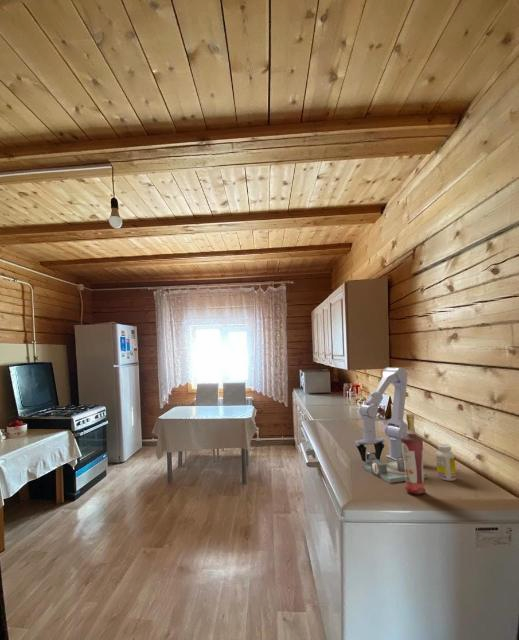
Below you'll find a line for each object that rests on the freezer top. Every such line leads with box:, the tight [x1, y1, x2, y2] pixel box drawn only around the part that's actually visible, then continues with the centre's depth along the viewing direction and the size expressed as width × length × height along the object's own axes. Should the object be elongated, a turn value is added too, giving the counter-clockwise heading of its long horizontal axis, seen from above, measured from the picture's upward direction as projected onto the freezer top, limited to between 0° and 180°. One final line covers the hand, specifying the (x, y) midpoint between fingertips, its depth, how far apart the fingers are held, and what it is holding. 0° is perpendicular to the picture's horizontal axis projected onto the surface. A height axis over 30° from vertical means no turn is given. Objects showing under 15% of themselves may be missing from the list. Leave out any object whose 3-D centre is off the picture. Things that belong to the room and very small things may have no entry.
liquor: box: [401, 413, 427, 496], centre depth 125 cm, size 7×7×28 cm
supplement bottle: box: [435, 443, 457, 482], centre depth 137 cm, size 7×7×13 cm
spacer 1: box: [365, 450, 377, 465], centre depth 157 cm, size 4×4×5 cm
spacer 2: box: [397, 456, 405, 472], centre depth 141 cm, size 4×4×5 cm
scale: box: [363, 459, 428, 484], centre depth 144 cm, size 18×18×5 cm
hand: (370, 460), depth 157 cm, fingers open, 7 cm apart
